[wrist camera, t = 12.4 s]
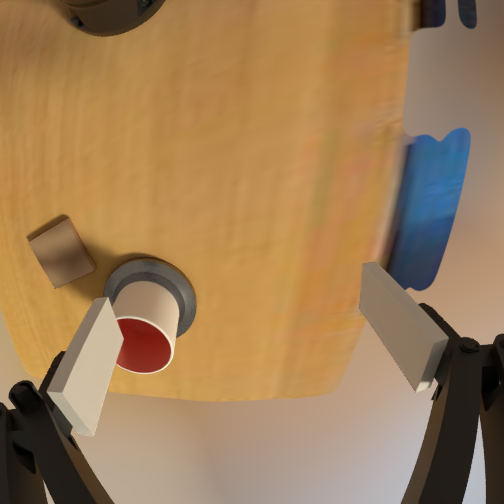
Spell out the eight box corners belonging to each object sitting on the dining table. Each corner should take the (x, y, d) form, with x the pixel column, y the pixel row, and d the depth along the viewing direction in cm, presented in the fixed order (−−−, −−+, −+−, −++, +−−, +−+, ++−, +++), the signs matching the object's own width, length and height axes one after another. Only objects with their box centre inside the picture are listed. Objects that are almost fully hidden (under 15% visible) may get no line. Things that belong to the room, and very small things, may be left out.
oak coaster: (32, 239, 40) (28, 242, 39) (69, 217, 40) (66, 219, 39) (58, 285, 44) (55, 289, 43) (96, 267, 44) (93, 270, 43)
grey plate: (95, 263, 43) (91, 268, 42) (186, 251, 44) (185, 255, 43) (122, 339, 49) (119, 345, 48) (204, 332, 50) (203, 338, 49)
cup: (193, 303, 46) (189, 346, 37) (156, 341, 48) (148, 384, 39) (139, 264, 42) (122, 301, 33) (107, 307, 45) (88, 347, 36)
